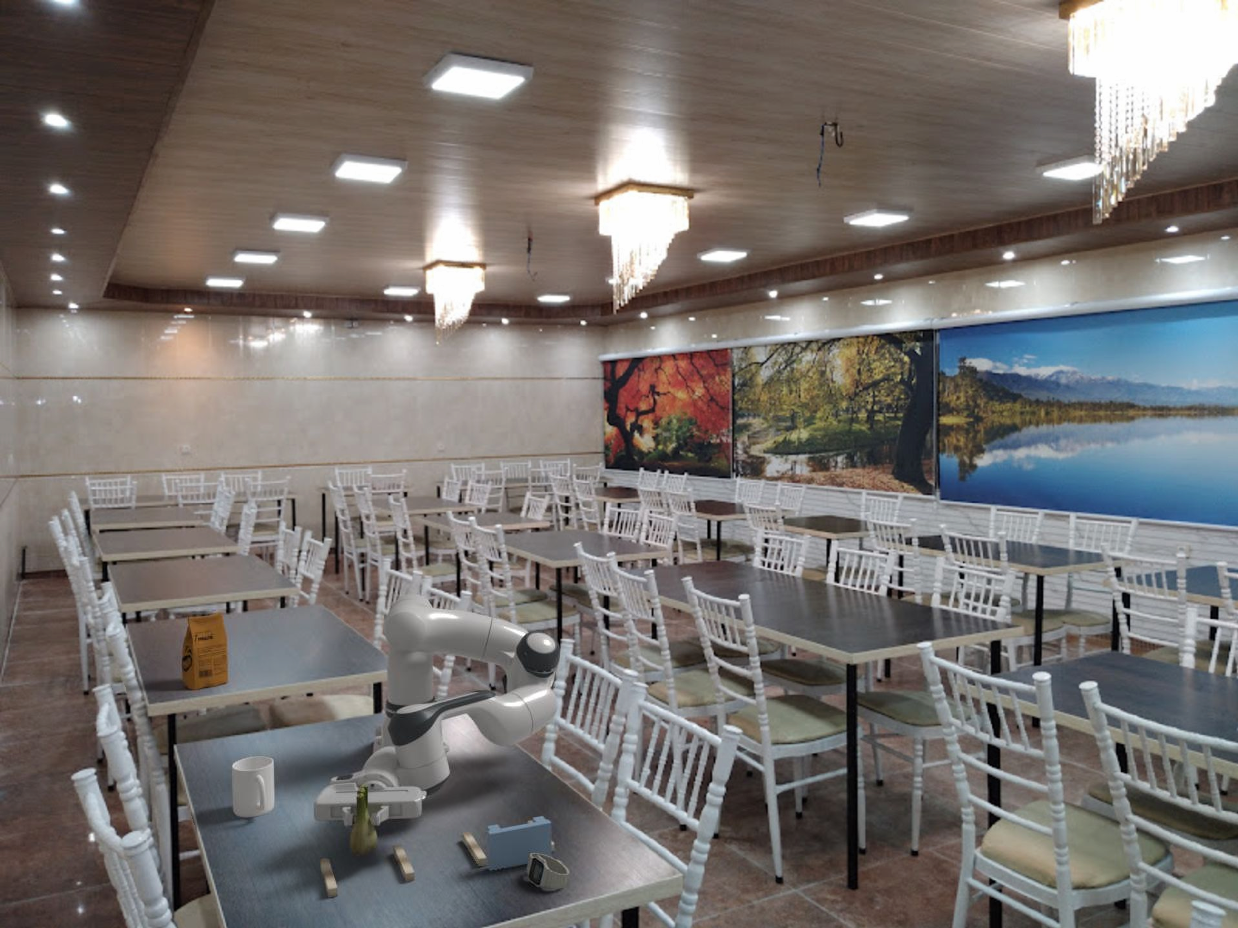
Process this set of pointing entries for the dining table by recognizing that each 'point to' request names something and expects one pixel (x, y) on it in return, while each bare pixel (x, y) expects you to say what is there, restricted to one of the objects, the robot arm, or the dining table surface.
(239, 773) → the cup
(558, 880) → the wristwatch
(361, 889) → the dining table surface
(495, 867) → the blue notched panel
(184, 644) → the coffee package
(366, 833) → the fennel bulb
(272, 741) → the dining table surface
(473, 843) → the beige small bars
